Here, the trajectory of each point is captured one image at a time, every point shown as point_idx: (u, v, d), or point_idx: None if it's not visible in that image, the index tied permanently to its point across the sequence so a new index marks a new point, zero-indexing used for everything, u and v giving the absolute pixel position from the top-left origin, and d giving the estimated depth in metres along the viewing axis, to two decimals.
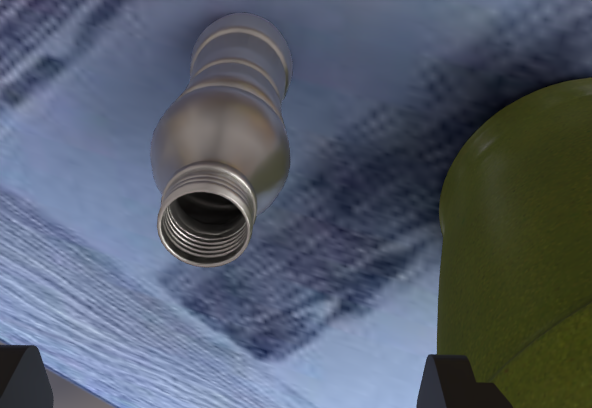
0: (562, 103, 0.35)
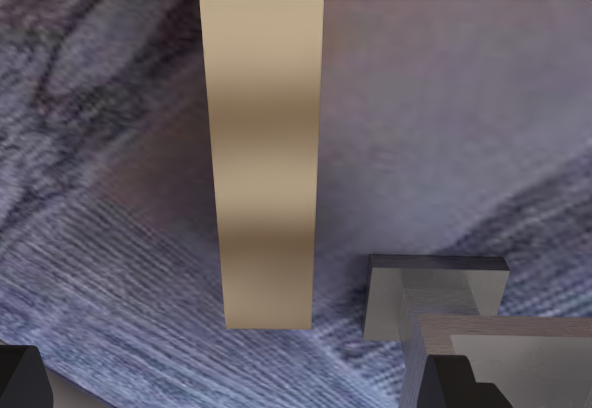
0: None
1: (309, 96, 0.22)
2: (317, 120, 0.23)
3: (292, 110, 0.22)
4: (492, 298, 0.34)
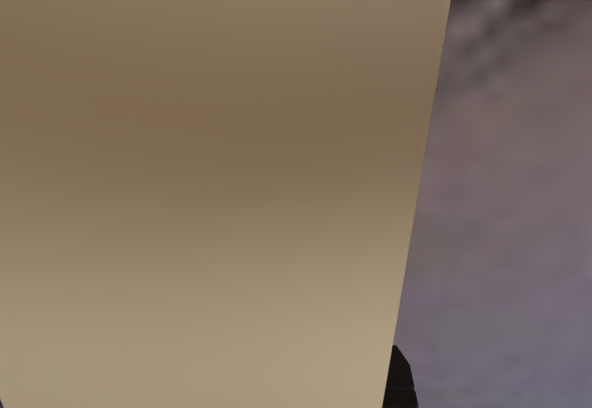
0: None
1: None
2: None
3: None
4: None
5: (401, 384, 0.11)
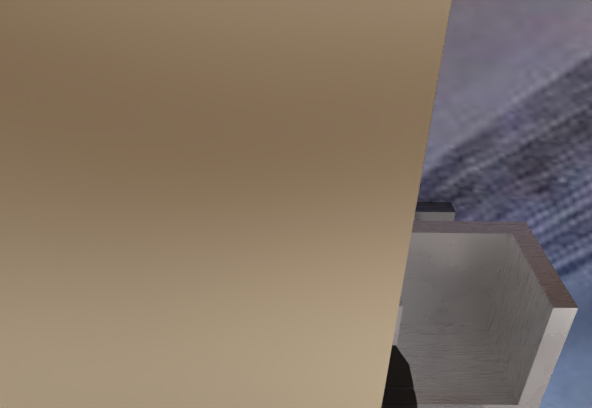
0: None
1: None
2: None
3: None
4: None
5: (401, 384, 0.11)
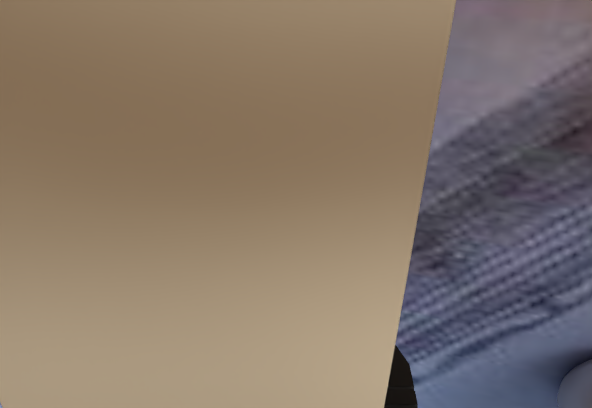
0: None
1: None
2: None
3: None
4: None
5: (400, 384, 0.11)
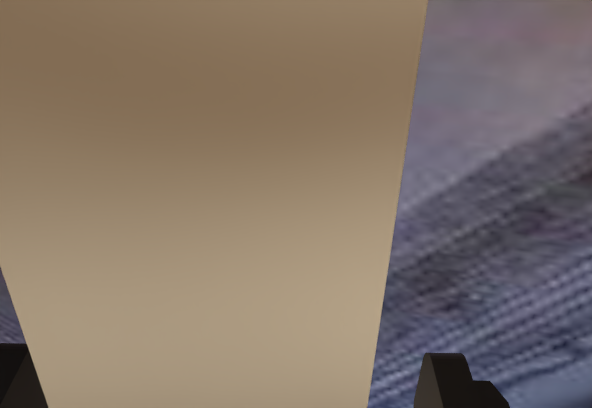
0: None
1: None
2: None
3: None
4: None
5: None
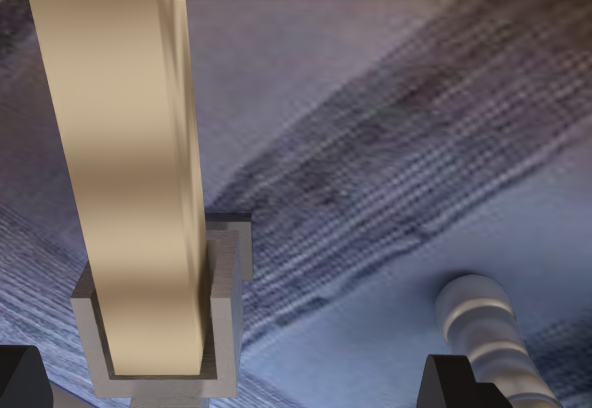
0: None
1: (164, 159, 0.23)
2: (175, 181, 0.24)
3: (150, 172, 0.23)
4: (244, 244, 0.46)
5: None
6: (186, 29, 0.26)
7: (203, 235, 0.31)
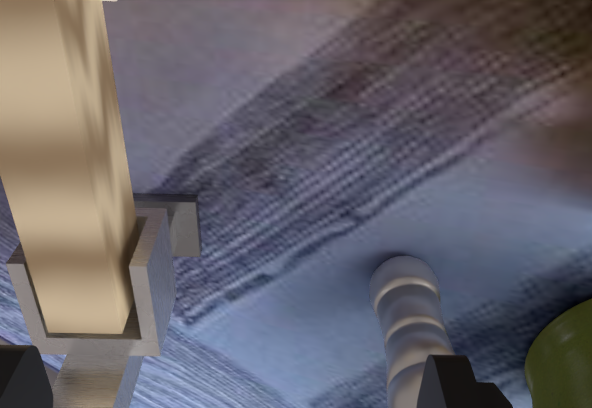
0: None
1: (74, 143, 0.27)
2: (85, 162, 0.27)
3: (63, 154, 0.27)
4: (191, 222, 0.50)
5: None
6: (103, 29, 0.29)
7: (130, 211, 0.35)
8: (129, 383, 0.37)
